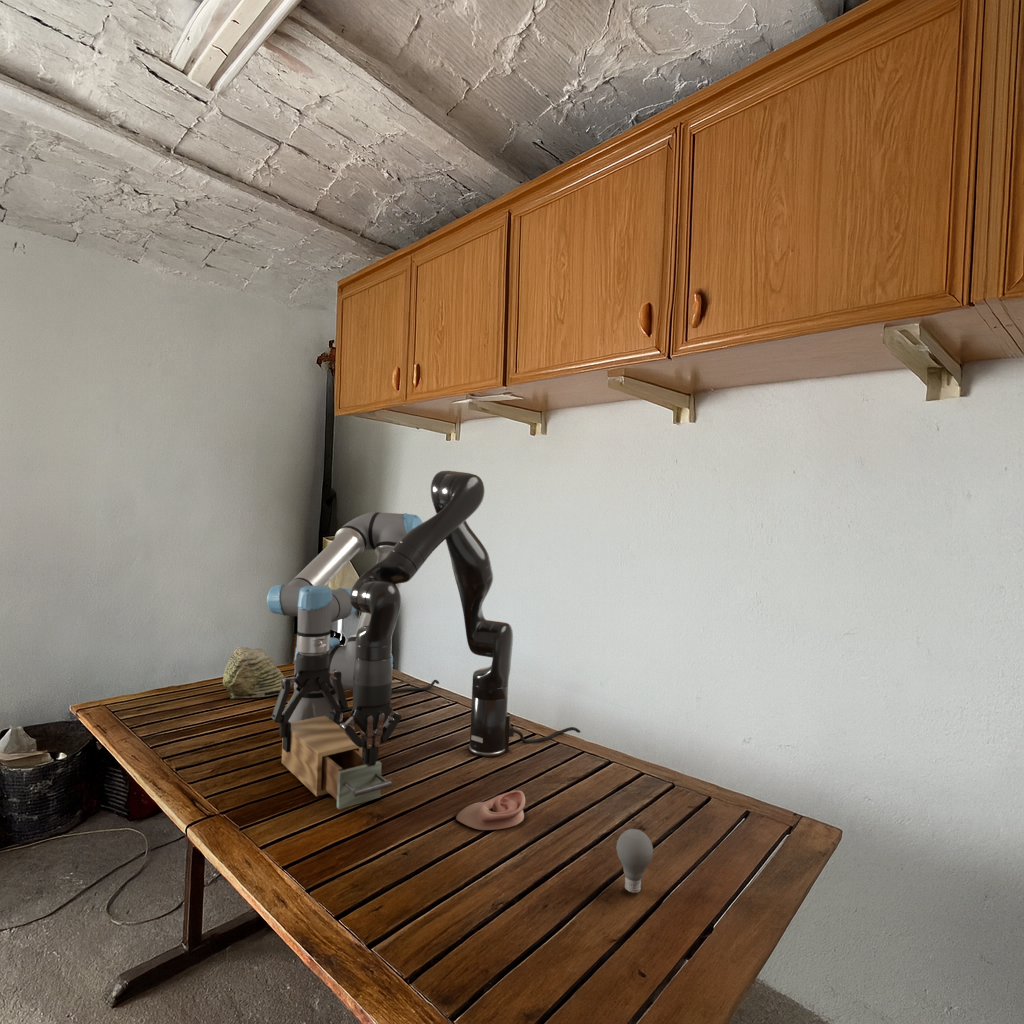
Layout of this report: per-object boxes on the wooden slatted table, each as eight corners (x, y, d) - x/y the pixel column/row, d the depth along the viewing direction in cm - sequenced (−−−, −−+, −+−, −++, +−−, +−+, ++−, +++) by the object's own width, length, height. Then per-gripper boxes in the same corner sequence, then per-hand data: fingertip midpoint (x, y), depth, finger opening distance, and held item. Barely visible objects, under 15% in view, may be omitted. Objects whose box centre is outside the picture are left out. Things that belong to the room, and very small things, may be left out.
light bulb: (610, 879, 108) (613, 822, 108) (644, 879, 109) (647, 822, 109) (619, 902, 102) (622, 840, 102) (655, 901, 103) (658, 840, 103)
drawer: (393, 808, 128) (395, 772, 128) (351, 821, 122) (352, 783, 122) (340, 765, 147) (341, 733, 147) (301, 774, 142) (303, 742, 141)
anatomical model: (452, 805, 124) (467, 780, 135) (451, 826, 124) (467, 799, 135) (518, 815, 121) (529, 789, 132) (517, 836, 121) (528, 808, 132)
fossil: (218, 695, 195) (220, 647, 195) (278, 685, 208) (279, 640, 207) (228, 703, 189) (230, 653, 188) (289, 692, 201) (290, 645, 201)
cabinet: (361, 784, 140) (363, 742, 140) (316, 796, 134) (318, 753, 133) (323, 753, 156) (325, 715, 156) (281, 762, 150) (282, 723, 149)
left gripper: (269, 661, 139) (265, 761, 140) (365, 649, 154) (361, 739, 154) (258, 654, 145) (254, 750, 146) (351, 643, 160) (348, 730, 160)
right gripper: (349, 689, 119) (347, 780, 120) (411, 678, 128) (408, 763, 128) (333, 679, 125) (330, 766, 125) (393, 669, 133) (390, 750, 134)
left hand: (309, 744), depth 150 cm, fingers closed on cabinet, 10 cm apart
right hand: (369, 764), depth 127 cm, fingers closed
